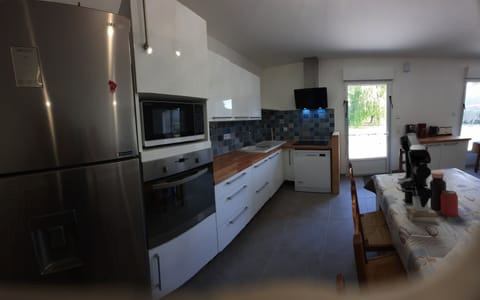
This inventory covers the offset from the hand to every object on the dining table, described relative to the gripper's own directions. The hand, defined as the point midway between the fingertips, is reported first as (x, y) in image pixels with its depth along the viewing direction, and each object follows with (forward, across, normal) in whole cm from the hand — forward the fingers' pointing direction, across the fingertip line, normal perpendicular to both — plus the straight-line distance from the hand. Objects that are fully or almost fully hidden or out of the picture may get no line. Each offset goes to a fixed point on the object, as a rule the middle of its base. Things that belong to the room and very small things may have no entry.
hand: (420, 204), depth 120 cm
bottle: (+8, -15, +12) cm, 21 cm away
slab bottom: (+7, 0, 0) cm, 7 cm away
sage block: (+3, 0, 0) cm, 3 cm away
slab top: (+5, 0, 0) cm, 5 cm away
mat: (+8, 0, 0) cm, 8 cm away
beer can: (+8, -7, +14) cm, 18 cm away
